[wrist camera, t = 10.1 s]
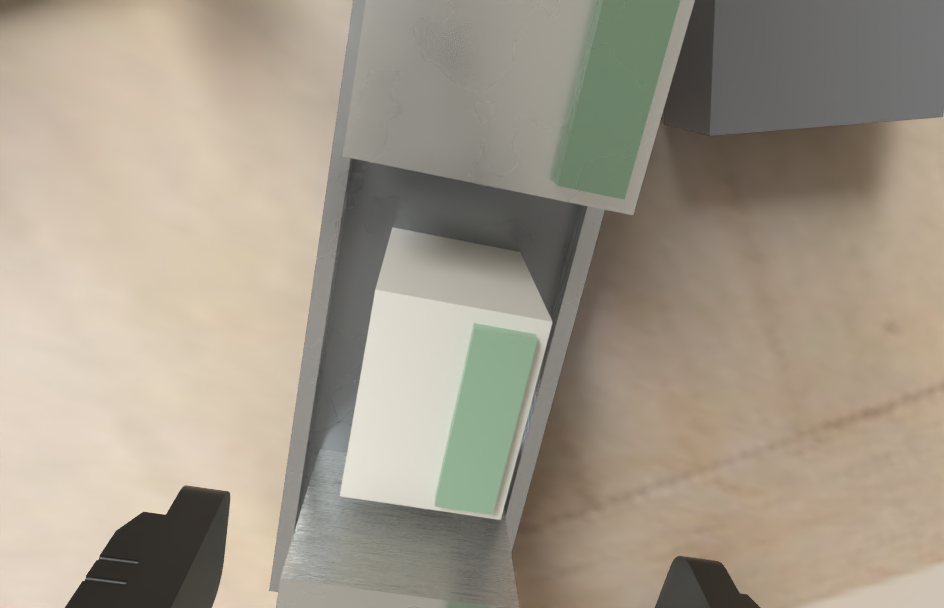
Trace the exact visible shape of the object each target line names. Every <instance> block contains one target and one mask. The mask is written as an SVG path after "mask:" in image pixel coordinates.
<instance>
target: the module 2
mask: <svg viewBox="0 0 944 608" xmlns="http://www.w3.org/2000/svg"><path fill="white" fill-rule="evenodd" d="M943 113H944V0H695V2H694V5H693V9H692V12H691V16H690V19H689V23H688V26H687V29H686V33H685V36H684V40H683V43H682V47H681V50H680V54H679V57H678V61H677V64H676V68H675V71H674V75H673V78H672V82H671V85H670V89H669V92H668V96H667V99H666V103H665V106H664V124H665V125H668V126H672V127H676V128H680V129H684V130H688V131H692V132H696V133H700V134H704V135H708V136H716V135H728V134H740V133H752V132H765V131H777V130H789V129H801V128H814V127H826V126H838V125H850V124H863V123H875V122H887V121H899V120H912V119H924V118H936V117H943Z"/></svg>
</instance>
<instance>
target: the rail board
mask: <svg viewBox="0 0 944 608" xmlns="http://www.w3.org/2000/svg"><path fill="white" fill-rule="evenodd" d="M694 2H695V0H353V6H352V13H351V20H350V27H349V34H348V41H347V48H346V55H345V62H344V69H343V76H342V83H341V90H340V97H339V104H338V111H337V119H336V126H335V133H334V140H333V147H332V154H331V161H330V168H329V175H328V182H327V189H326V196H325V203H324V210H323V217H322V224H321V231H320V238H319V245H318V252H317V259H316V266H315V273H314V280H313V287H312V294H311V301H310V308H309V315H308V322H307V329H306V336H305V343H304V350H303V357H302V364H301V371H300V378H299V385H298V392H297V399H296V406H295V413H294V420H293V427H292V434H291V441H290V448H289V455H288V462H287V469H286V476H285V483H284V490H283V497H282V505H281V512H280V519H279V526H278V533H277V540H276V547H275V554H274V561H273V568H272V575H271V582H270V589H269V591H275V592H278V598H277V604H276V608H520V607H519V600H518V594H517V587H516V581H515V575H514V568H513V562H512V555H511V553H512V549H513V545H514V542H515V538H516V534H517V531H518V527H519V523H520V520H521V516H522V512H523V509H524V505H525V501H526V498H527V494H528V490H529V487H530V483H531V479H532V476H533V472H534V468H535V465H536V461H537V457H538V454H539V450H540V446H541V443H542V439H543V435H544V432H545V428H546V424H547V421H548V417H549V413H550V410H551V406H552V402H553V399H554V395H555V391H556V388H557V384H558V380H559V377H560V373H561V369H562V366H563V362H564V358H565V355H566V351H567V347H568V344H569V340H570V336H571V333H572V329H573V325H574V322H575V318H576V314H577V311H578V307H579V303H580V300H581V296H582V292H583V289H584V285H585V281H586V278H587V274H588V270H589V267H590V263H591V259H592V256H593V252H594V248H595V245H596V241H597V237H598V234H599V230H600V226H601V223H602V219H603V215H604V212H605V210H609V211H614V212H619V213H624V214H629V215H633V214H634V211H635V207H636V204H637V200H638V197H639V193H640V190H641V186H642V183H643V179H644V176H645V172H646V169H647V166H648V162H649V159H650V155H651V152H652V148H653V145H654V141H655V138H656V134H657V131H658V127H659V124H660V120H661V117H662V113H663V110H664V106H665V103H666V99H667V96H668V92H669V89H670V85H671V82H672V78H673V75H674V71H675V68H676V64H677V61H678V57H679V54H680V50H681V47H682V43H683V40H684V36H685V33H686V29H687V26H688V23H689V19H690V16H691V12H692V9H693V5H694ZM392 227H393V228H398V229H404V230H409V231H414V232H419V233H424V234H430V235H435V236H440V237H445V238H450V239H455V240H461V241H466V242H471V243H476V244H481V245H487V246H492V247H497V248H502V249H507V250H512V251H518V252H520V253H521V255H522V257H523V259H524V261H525V264H526V266H527V268H528V270H529V272H530V274H531V276H532V279H533V281H534V283H535V285H536V287H537V289H538V292H539V294H540V296H541V298H542V300H543V302H544V304H545V307H546V309H547V311H548V313H549V315H550V317H551V320H552V326H551V330H550V334H549V338H548V341H547V345H546V349H545V353H544V357H543V360H542V364H541V368H540V372H539V376H538V379H537V383H536V387H535V391H534V395H533V399H532V402H531V406H530V410H529V414H528V418H527V421H526V425H525V429H524V433H523V437H522V441H521V444H520V448H519V452H518V456H517V460H516V463H515V467H514V471H513V475H512V479H511V482H510V486H509V490H508V494H507V498H506V502H505V505H504V509H503V513H502V517H501V520H498V519H491V518H485V517H478V516H471V515H464V514H457V513H451V512H444V511H437V510H430V509H423V508H416V507H410V506H403V505H396V504H389V503H382V502H376V501H369V500H362V499H355V498H348V497H341V496H340V491H341V485H342V480H343V474H344V468H345V462H346V456H347V451H348V445H349V439H350V433H351V427H352V422H353V416H354V410H355V404H356V399H357V393H358V387H359V381H360V375H361V370H362V364H363V358H364V352H365V346H366V341H367V335H368V329H369V323H370V318H371V312H372V306H373V300H374V294H375V289H376V285H377V282H378V278H379V274H380V271H381V267H382V263H383V260H384V256H385V253H386V249H387V245H388V242H389V238H390V234H391V231H392Z"/></svg>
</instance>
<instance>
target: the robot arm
mask: <svg viewBox="0 0 944 608" xmlns="http://www.w3.org/2000/svg"><path fill="white" fill-rule="evenodd" d="M229 506H230V493H229V492H228V491H221V490H214V489H207V488H200V487H193V486H184V487H183V488H182V489H181V490H180V492H179V493H178V495H177V497H176V499H175V500H174V502H173V504H172V505H171V507H170V509H169V511H168V512H167V514H166V515H162V514H155V513H148V512H142V513H141V514H140V515H138V516H137V517H135V518H134V519H132V520H131V521H130V522H128V523H127V524H125V525H124V526H123V527H121V528H120V529H118V530H117V531H116V532H115V533H114V535H113V536H112V538H111V539H110V541H109V542H108V544H107V545H106V547H105V548H104V550H103V551H102V553H101V554H100V557H99V560H96V562H95V563H94V565H93V566H92V568H91V569H90V571H89V572H88V574H87V575H86V579H85V581H82V583H81V584H80V586H79V587H78V589H77V590H76V592H75V593H74V595H73V596H72V598H71V599H70V601H69V602H68V604H67V605H66V607H65V608H212V606H213V603H214V600H215V597H216V594H217V591H218V587H219V583H220V579H221V575H222V569H223V563H224V553H225V544H226V535H227V525H228V516H229ZM655 608H760V607H759V606H758V605H757V604H756V603H755V602H754V601H753V600H752V599H751V598H750V597H749V596H748V595H747V594H740V593H739V591H738V590H737V588H736V586H735V584H734V583H733V581H732V579H731V577H730V575H729V574H728V572H727V570H726V568H725V567H724V565H723V564H722V563H720V562H718V561H713V560H705V559H698V558H691V557H684V556H678V557H676V558H675V559H674V560H673V562H672V564H671V566H670V569H669V572H668V574H667V577H666V580H665V582H664V585H663V588H662V590H661V593H660V596H659V598H658V601H657V604H656V606H655Z"/></svg>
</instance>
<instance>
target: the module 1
mask: <svg viewBox="0 0 944 608" xmlns="http://www.w3.org/2000/svg"><path fill="white" fill-rule="evenodd" d="M551 326H552V320H551V317H550V315H549V313H548V311H547V309H546V307H545V304H544V302H543V300H542V298H541V296H540V294H539V292H538V289H537V287H536V285H535V283H534V281H533V279H532V276H531V274H530V272H529V270H528V268H527V266H526V264H525V261H524V259H523V257H522V255H521V253H520V252H518V251H512V250H507V249H502V248H497V247H492V246H487V245H481V244H476V243H471V242H466V241H461V240H455V239H450V238H445V237H440V236H435V235H430V234H424V233H419V232H414V231H409V230H404V229H398V228H393V227H392V231H391V234H390V238H389V242H388V245H387V249H386V253H385V256H384V260H383V263H382V267H381V271H380V274H379V278H378V282H377V285H376V289H375V294H374V300H373V306H372V312H371V318H370V323H369V329H368V335H367V341H366V346H365V352H364V358H363V364H362V370H361V375H360V381H359V387H358V393H357V399H356V404H355V410H354V416H353V422H352V427H351V433H350V439H349V445H348V451H347V456H346V462H345V468H344V474H343V480H342V485H341V491H340V496H341V497H348V498H355V499H362V500H369V501H376V502H382V503H389V504H396V505H403V506H410V507H416V508H423V509H430V510H437V511H444V512H451V513H457V514H464V515H471V516H478V517H485V518H491V519H498V520H501V517H502V513H503V509H504V505H505V502H506V498H507V494H508V490H509V486H510V482H511V479H512V475H513V471H514V467H515V463H516V460H517V456H518V452H519V448H520V444H521V441H522V437H523V433H524V429H525V425H526V421H527V418H528V414H529V410H530V406H531V402H532V399H533V395H534V391H535V387H536V383H537V379H538V376H539V372H540V368H541V364H542V360H543V357H544V353H545V349H546V345H547V341H548V338H549V334H550V330H551Z"/></svg>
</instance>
